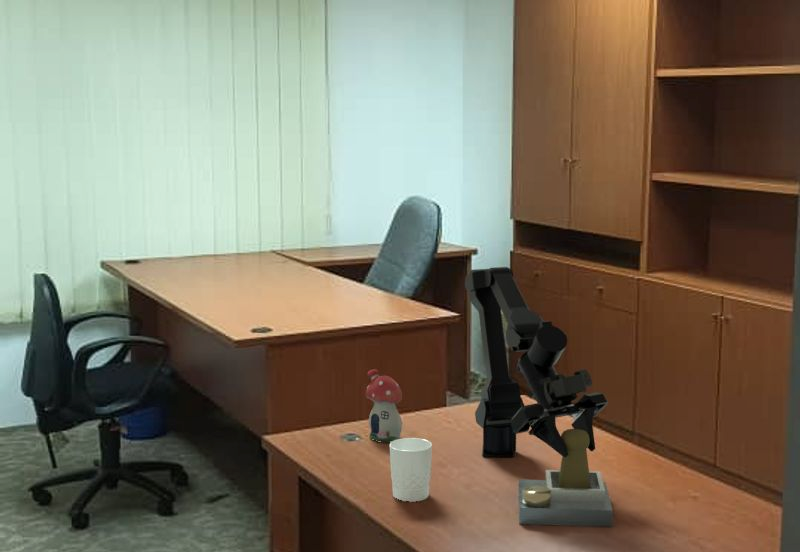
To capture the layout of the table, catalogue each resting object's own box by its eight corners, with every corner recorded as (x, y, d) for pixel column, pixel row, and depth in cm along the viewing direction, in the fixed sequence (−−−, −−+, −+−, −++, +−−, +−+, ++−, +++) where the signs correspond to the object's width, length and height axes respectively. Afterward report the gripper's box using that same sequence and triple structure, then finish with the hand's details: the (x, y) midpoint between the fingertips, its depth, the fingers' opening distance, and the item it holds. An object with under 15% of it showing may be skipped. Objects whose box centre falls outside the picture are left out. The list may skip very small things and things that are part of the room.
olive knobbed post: (554, 484, 194) (554, 426, 193) (586, 482, 195) (587, 424, 193) (561, 495, 188) (562, 436, 187) (595, 494, 189) (596, 435, 187)
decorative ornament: (361, 434, 235) (360, 368, 232) (386, 429, 238) (385, 364, 236) (382, 446, 227) (382, 378, 224) (408, 440, 230) (408, 373, 228)
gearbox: (519, 524, 184) (519, 496, 183) (518, 494, 198) (518, 469, 197) (612, 527, 183) (613, 499, 182) (605, 497, 196) (605, 471, 196)
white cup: (437, 490, 200) (437, 440, 199) (424, 505, 193) (424, 453, 191) (398, 486, 203) (397, 436, 201) (384, 500, 196) (383, 448, 194)
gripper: (521, 362, 186) (559, 440, 179) (602, 349, 196) (642, 422, 188) (494, 395, 194) (530, 470, 187) (574, 381, 204) (611, 452, 196)
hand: (580, 453), depth 189 cm, fingers open, 6 cm apart
